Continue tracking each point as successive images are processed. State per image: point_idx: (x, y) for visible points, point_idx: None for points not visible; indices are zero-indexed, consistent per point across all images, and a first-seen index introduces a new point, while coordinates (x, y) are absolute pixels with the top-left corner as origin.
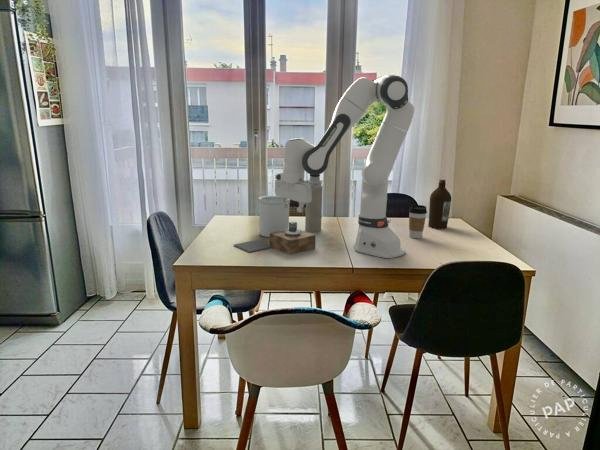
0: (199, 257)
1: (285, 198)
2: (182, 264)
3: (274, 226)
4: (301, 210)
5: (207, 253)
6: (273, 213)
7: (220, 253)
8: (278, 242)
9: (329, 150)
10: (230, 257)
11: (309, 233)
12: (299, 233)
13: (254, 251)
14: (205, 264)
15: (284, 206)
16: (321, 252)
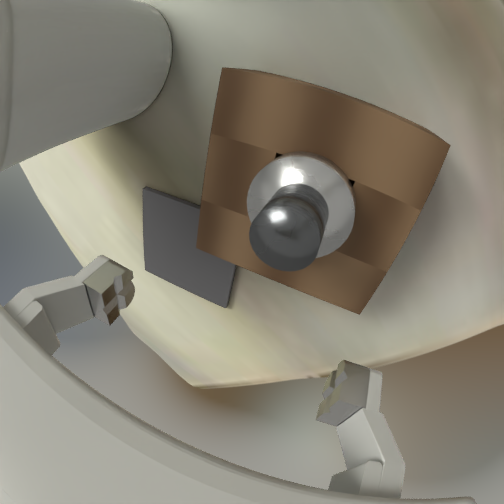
0: (177, 355)
1: (41, 330)
2: (193, 384)
3: (116, 109)
4: (374, 392)
5: (164, 334)
6: (53, 133)
7: (180, 328)
8: None
9: None
10: (220, 346)
11: (396, 129)
12: (355, 207)
13: (230, 291)
14: (220, 382)
15: (121, 307)
16: (476, 181)
